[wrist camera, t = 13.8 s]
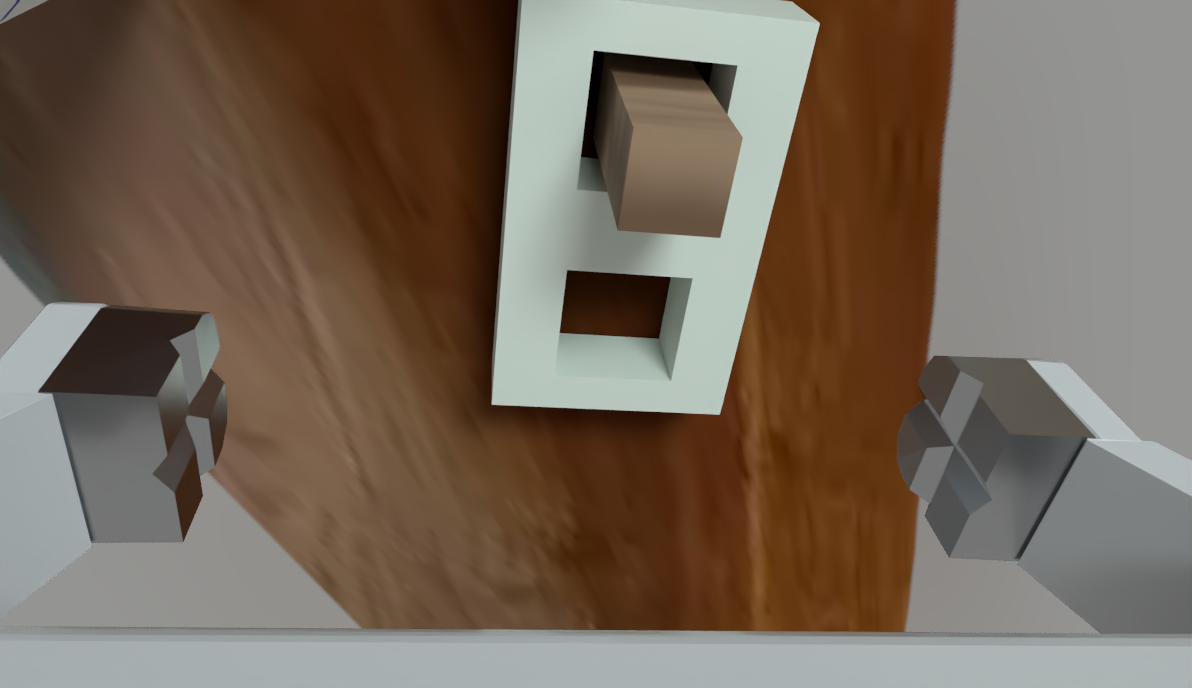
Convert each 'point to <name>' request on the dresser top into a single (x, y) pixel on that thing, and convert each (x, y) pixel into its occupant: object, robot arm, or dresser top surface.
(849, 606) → the dresser top surface
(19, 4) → the cylindrical container
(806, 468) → the dresser top surface
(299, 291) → the dresser top surface
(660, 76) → the wood grain block
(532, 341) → the socket board
